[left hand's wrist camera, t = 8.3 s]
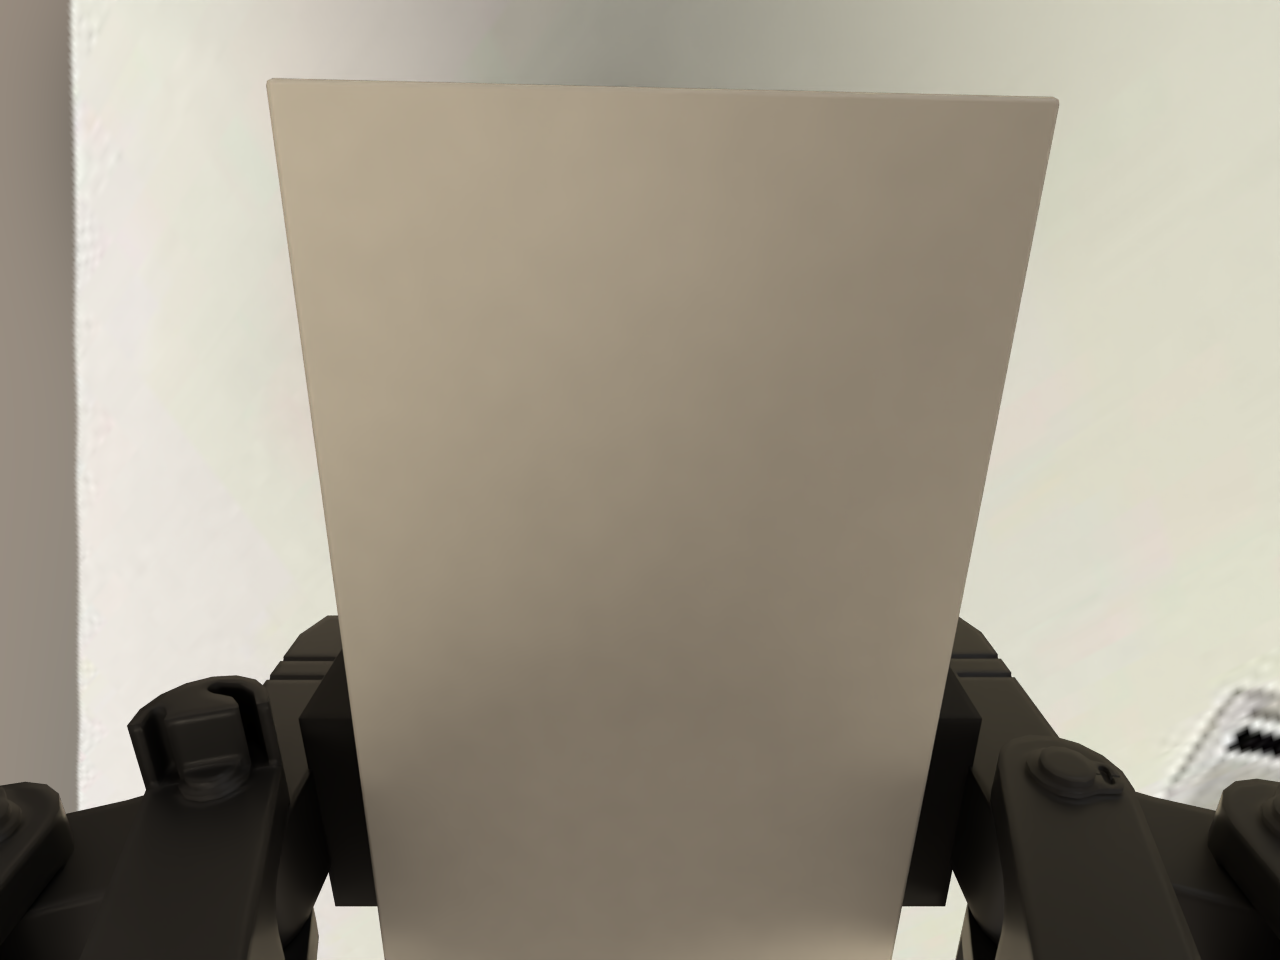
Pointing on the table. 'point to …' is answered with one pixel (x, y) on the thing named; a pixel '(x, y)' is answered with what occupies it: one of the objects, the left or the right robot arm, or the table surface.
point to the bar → (650, 491)
